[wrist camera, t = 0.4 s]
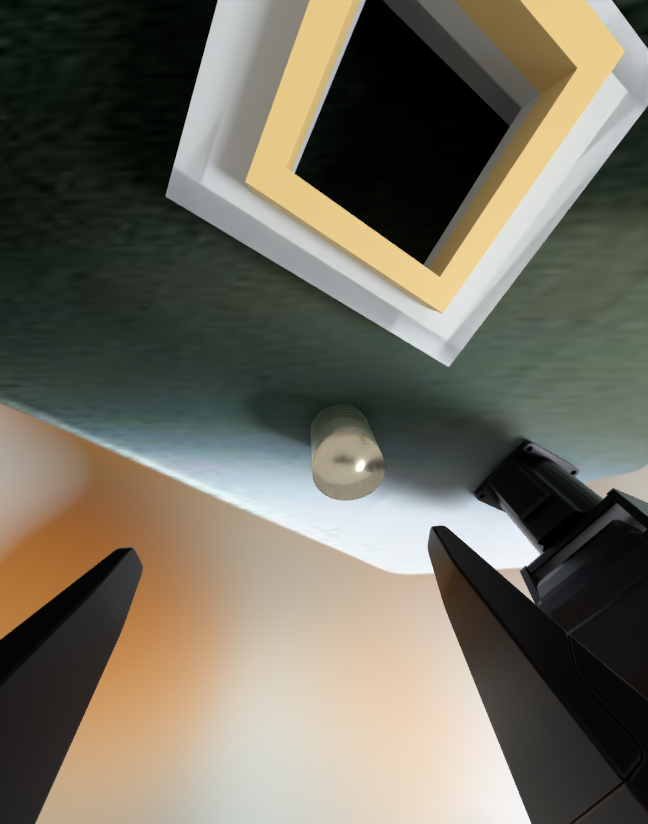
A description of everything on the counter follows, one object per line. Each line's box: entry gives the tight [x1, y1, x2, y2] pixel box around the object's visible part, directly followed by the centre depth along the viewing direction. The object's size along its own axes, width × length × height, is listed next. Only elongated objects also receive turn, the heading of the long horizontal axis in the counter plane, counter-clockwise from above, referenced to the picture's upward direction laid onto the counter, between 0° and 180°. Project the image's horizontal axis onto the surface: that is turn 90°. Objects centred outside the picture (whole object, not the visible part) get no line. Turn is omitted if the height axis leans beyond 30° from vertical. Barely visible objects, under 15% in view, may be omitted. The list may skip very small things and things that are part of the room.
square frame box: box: [166, 0, 648, 367], centre depth 12 cm, size 14×12×6 cm
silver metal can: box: [310, 404, 386, 500], centre depth 19 cm, size 4×4×5 cm
